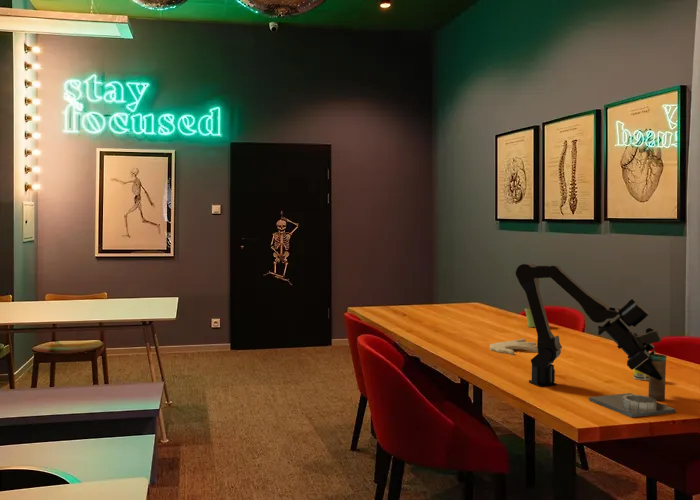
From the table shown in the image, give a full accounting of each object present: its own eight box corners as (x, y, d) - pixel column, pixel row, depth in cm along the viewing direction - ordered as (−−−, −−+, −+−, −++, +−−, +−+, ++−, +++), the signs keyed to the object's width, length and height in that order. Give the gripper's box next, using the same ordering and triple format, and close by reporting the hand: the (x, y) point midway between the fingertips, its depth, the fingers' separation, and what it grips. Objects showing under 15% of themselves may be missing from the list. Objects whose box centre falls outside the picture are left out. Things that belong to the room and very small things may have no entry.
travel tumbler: (656, 401, 188) (657, 357, 187) (644, 397, 192) (645, 354, 191) (668, 400, 189) (670, 356, 188) (656, 396, 193) (658, 353, 193)
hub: (631, 417, 172) (631, 406, 172) (589, 400, 188) (589, 390, 188) (675, 412, 177) (675, 401, 177) (630, 396, 193) (630, 386, 193)
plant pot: (520, 325, 320) (520, 308, 320) (534, 324, 324) (535, 307, 324) (532, 328, 312) (533, 311, 311) (547, 327, 316) (548, 310, 315)
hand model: (488, 339, 271) (537, 335, 267) (489, 350, 271) (538, 346, 267) (490, 351, 252) (542, 346, 249) (491, 362, 253) (544, 357, 249)
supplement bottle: (644, 376, 217) (645, 352, 217) (651, 380, 212) (652, 355, 212) (630, 377, 217) (631, 352, 217) (637, 380, 212) (638, 355, 212)
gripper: (640, 323, 183) (682, 367, 178) (647, 315, 199) (686, 355, 194) (610, 348, 188) (650, 391, 183) (619, 338, 204) (657, 377, 199)
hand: (662, 377), depth 189 cm, fingers open, 5 cm apart
